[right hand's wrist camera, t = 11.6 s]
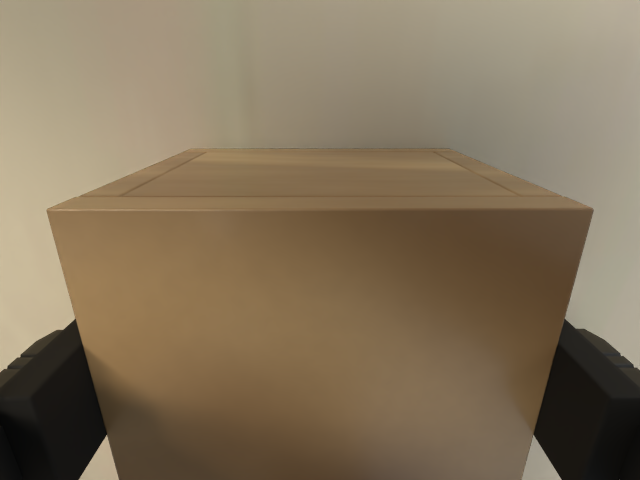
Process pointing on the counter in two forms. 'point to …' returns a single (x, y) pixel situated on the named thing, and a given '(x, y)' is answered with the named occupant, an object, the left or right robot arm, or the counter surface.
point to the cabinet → (320, 313)
